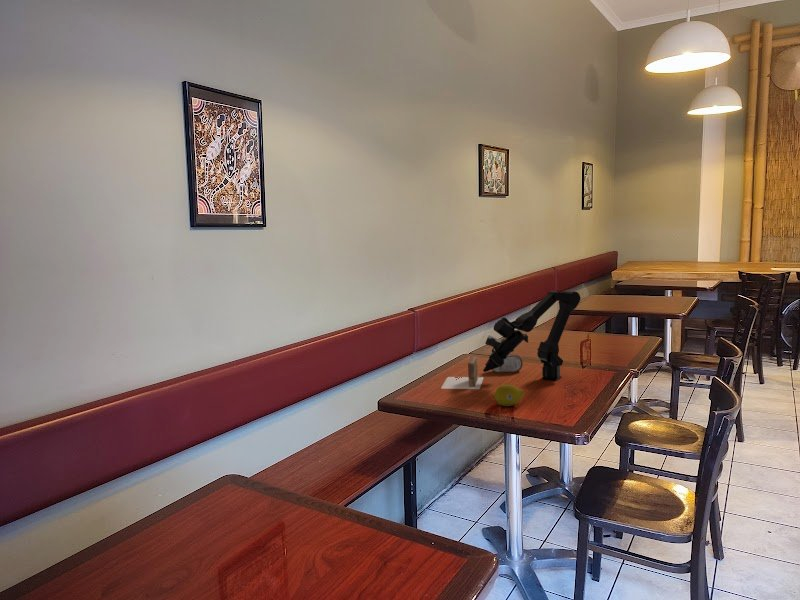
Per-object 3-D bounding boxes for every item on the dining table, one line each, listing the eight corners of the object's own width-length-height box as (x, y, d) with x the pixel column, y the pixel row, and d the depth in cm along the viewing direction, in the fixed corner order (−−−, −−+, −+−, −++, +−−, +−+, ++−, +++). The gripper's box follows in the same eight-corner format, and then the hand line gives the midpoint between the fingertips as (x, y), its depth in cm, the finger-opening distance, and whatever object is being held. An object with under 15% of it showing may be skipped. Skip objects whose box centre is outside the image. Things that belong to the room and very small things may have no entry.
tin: (522, 370, 262) (522, 352, 261) (523, 372, 259) (522, 354, 258) (489, 371, 264) (488, 353, 263) (489, 373, 260) (488, 355, 259)
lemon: (492, 408, 212) (491, 387, 211) (495, 401, 219) (494, 381, 218) (522, 409, 209) (521, 388, 208) (524, 403, 216) (523, 382, 215)
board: (477, 379, 251) (477, 356, 250) (474, 386, 239) (473, 363, 238) (472, 379, 252) (471, 356, 250) (468, 386, 240) (467, 363, 239)
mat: (483, 378, 253) (483, 377, 253) (479, 389, 236) (479, 389, 236) (447, 377, 257) (447, 376, 257) (440, 389, 240) (440, 388, 240)
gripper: (498, 325, 249) (473, 350, 253) (494, 333, 231) (468, 360, 235) (517, 343, 248) (492, 368, 252) (515, 353, 230) (488, 379, 234)
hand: (484, 368), depth 243 cm, fingers open, 9 cm apart
